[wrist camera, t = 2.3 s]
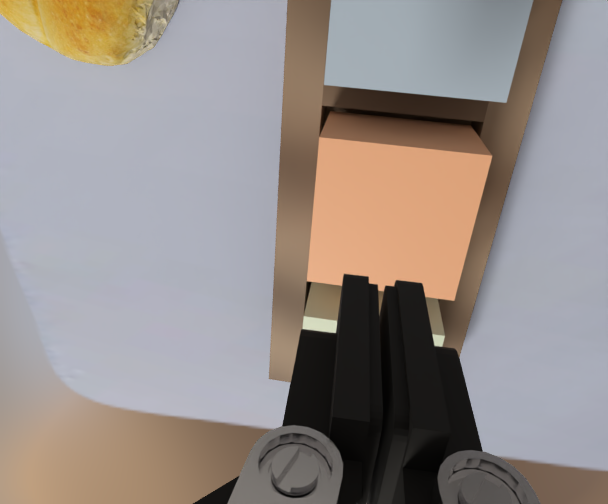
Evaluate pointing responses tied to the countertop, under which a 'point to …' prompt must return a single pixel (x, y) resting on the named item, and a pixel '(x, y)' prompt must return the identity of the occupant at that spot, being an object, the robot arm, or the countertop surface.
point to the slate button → (427, 46)
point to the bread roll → (92, 26)
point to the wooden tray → (324, 98)
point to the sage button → (326, 307)
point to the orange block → (395, 201)
